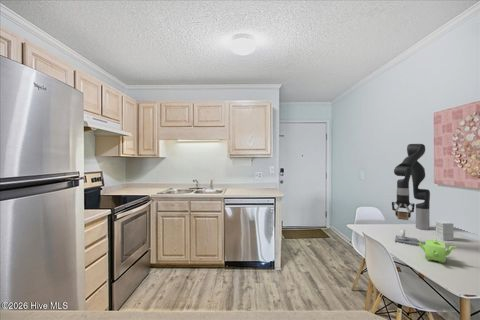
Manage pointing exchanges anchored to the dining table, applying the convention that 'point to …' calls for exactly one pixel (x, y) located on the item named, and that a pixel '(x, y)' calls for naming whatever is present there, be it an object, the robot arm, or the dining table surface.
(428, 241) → the kettle
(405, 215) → the wooden square frame
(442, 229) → the supplement box
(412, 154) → the robot arm
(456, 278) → the dining table surface
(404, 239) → the post stand
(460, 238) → the dining table surface
